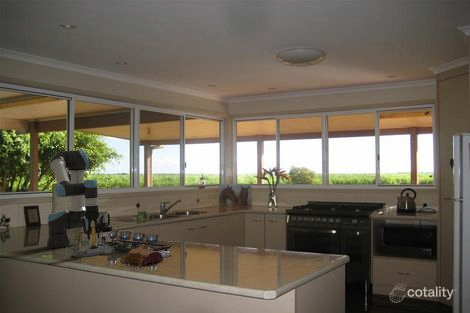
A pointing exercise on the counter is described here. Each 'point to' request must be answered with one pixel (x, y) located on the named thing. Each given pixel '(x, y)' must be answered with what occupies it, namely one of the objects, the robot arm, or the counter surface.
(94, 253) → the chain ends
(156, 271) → the counter surface
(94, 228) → the brass pin
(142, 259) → the cured meat
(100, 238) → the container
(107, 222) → the milk frother
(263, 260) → the counter surface
